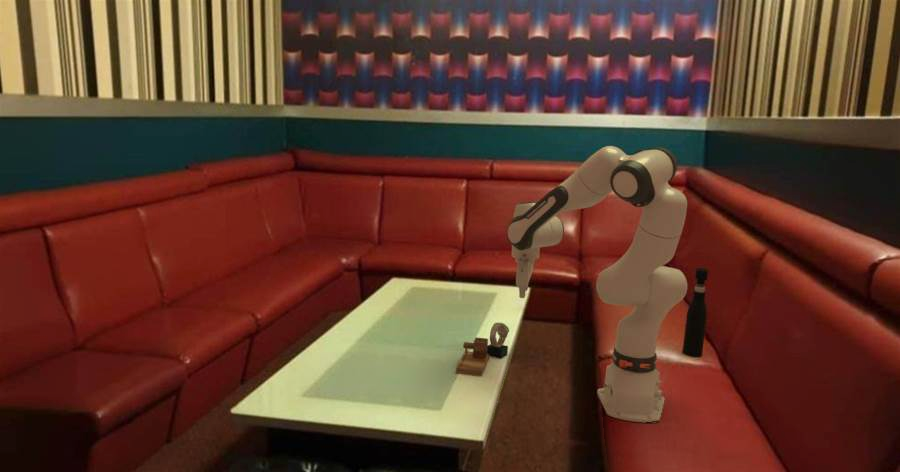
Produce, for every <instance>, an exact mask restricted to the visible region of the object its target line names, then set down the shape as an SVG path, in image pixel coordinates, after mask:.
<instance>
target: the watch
mask: <svg viewBox="0 0 900 472" xmlns="http://www.w3.org/2000/svg"><path fill="white" fill-rule="evenodd" d="M509 333H510V328H509V327H508V325H506V324H505V323H503V322H494V324H493V325H492V327H491V329H490V332H489V343H490V344H488V347H487V354H489V357H492V358H496V359H500V360H502V359H503V358H505V357H506V356H508V352H509V351H508V349H509V346H508V345H505V341H506V339H507V337H508V334H509ZM497 335H498V340H497V337H496V336H497Z"/></svg>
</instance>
